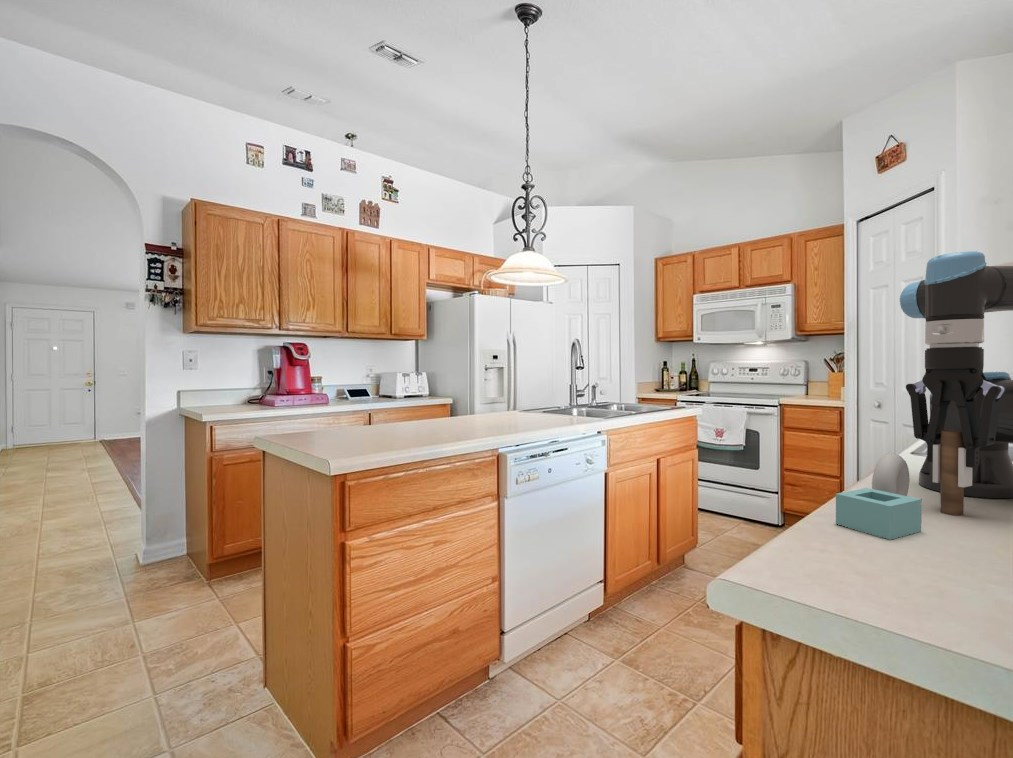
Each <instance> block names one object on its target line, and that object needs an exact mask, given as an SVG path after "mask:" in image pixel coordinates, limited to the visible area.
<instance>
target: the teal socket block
mask: <svg viewBox="0 0 1013 758" xmlns="http://www.w3.org/2000/svg"><path fill="white" fill-rule="evenodd" d="M922 506H923V505H922V499H921V498H917V497H914V496H913V497H912V496H908V495H907V496H903V495H898V494H894V493H889V492H884V491H879V490H874V489H872V488H869V487H865V488H859V489H855V490H854V489H853V490H848V491H844V492H839V493H835V525H836V524H838V525H837V526H839V525H842V526H841V527H843V526H845V527H844V528H846V527H848V528H847V529H850V528H852V529H851V530H853V529H855V530H854V531H857V530H858V532H860V531H862V532H861V533H864V532H865V533H864V534H867V533H869V534H868V535H871V534H872V535H871V536H874V537H879V538H882V537H883V538H882V539H885V538H886V540H889V541H891V540H894V539H899V538H902V536H903V537H906V536H909V534H910V535H914V534H917V533H921V532H922ZM913 533H914V534H913ZM898 537H899V538H898Z"/></svg>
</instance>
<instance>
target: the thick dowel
mask: <svg viewBox="0 0 1013 758" xmlns="http://www.w3.org/2000/svg"><path fill="white" fill-rule="evenodd" d="M962 445H964V441H963V435H962V431H955V430H942V431H941V491H940V494H939V495H940V499H939V500H940V501H939V502H940V504H939V507H940V509H939V511H941V512H940V513H942V514H946V515H951V516H963V515H964V511H965V510H964V507H965V505H964V503H965V502H964V499H965V498H964V497H965V496H964V488H963V487H958V448H961V447H962Z"/></svg>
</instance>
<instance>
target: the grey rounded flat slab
mask: <svg viewBox="0 0 1013 758" xmlns="http://www.w3.org/2000/svg"><path fill="white" fill-rule="evenodd" d="M873 468H874V469H873V473H872V479H871V489H874V490H879V491H884V492H889V493H894V494H898V495H903V496H908V494H909V493H908V492H909V489H910V488H909V487H910V469H909V465H908V463H907V461H906V460H905V459H904V458H903V457H902V456H901V455H900V454H896V453H886V454H884V455H883V456H881V457H880V458H878V460H877V462H876V464H875V466H874V467H873Z"/></svg>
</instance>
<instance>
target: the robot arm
mask: <svg viewBox="0 0 1013 758" xmlns="http://www.w3.org/2000/svg"><path fill="white" fill-rule="evenodd" d="M899 305H900V308H901V309H900V310H901V311H902V312H903V313H904V314H905V315H906V316H907V317H909V318H912V319H925V325H924V326H925V328H924V330H925V331H924V332H925V333H924V334H925V336H924V344H925V345H927V346H929V348H926V349H925V350H924V369H925V373H924V375H923V376H922V380H920V381H916V382H914V383H908V384H906V385H905V389H906V391H907V393H908V395H909V397H910V406H911V407H910V408H911V417H912V418H911V419H912V427H913V437H914V438H915V439H917V440H922V441H924V442H925V443H926V447H927V448H926V453H927V454H926V457H925V458H924V459H925V460H924V462H923V464H922V465H921V469H920V471H919V472H918V473H919V474H918V484H919V485H920V486H921V487H924V488H926V489H929V490H933V491H938V492H941V431H942V430H955V431H962V435H963V441H964V445H962V447H961V448H958V487H963V488H964V497H965V496H966V497H973V498H986V499H987V498H988V499H1010V498H1013V462H1012V459H1011V457H1010V454H1009V453H1010V452H1009V444H1013V379H1012V378H1011V377H1010V374H1009V373H1008V372H1005V371H989V372H988V371H987V372H986V371H985V372H984V367H985V366H984V365H985V363H984V358H985V357H984V356H985V355H984V354H985V349H984V348H983V347H982V346H980V344H983V343H984V342H985V314H986V313H996V312H1006V311H1007V312H1008V311H1009V312H1010V311H1013V260H1012V261H1008V262H1004V263H999V264H995V265H991V266H990V265H987V262H986V256H985V254H984V253H983V252H980V251H978V250H977V251H974V250H973V251H972V250H970V251H969V250H968V251H959V252H949V253H943V254H940V255H939V254H938V255H936V256H933V257H931V258H930V259H928V261H927V263H926V270H925V278H924V279H921V280H919V281H916V282H912V283H909V284H908V285H907V286H905V287H904V288H903V289H902V291H901V293H900V296H899ZM927 390H928V391H929V392H930V394H929V416H928V405H927V403H928V402H927V396H926V394H925V393H926V392H927Z"/></svg>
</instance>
